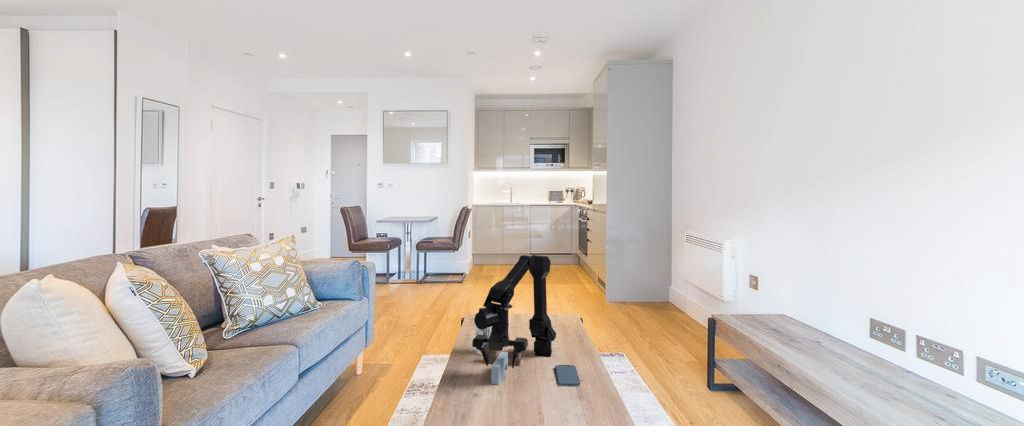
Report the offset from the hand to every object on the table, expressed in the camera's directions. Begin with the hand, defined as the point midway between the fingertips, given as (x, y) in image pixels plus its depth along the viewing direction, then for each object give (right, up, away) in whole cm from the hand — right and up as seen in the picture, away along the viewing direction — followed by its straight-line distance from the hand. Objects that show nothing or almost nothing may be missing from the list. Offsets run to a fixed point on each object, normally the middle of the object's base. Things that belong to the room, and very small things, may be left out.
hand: (500, 366), depth 148 cm
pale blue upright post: (0, -3, 0) cm, 3 cm away
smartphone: (+23, -4, 0) cm, 24 cm away
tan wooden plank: (0, -3, +12) cm, 12 cm away
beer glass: (-7, -3, +23) cm, 24 cm away
